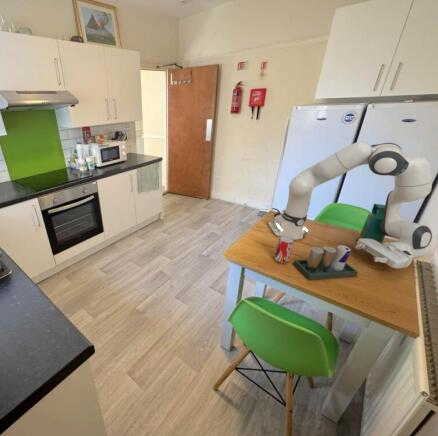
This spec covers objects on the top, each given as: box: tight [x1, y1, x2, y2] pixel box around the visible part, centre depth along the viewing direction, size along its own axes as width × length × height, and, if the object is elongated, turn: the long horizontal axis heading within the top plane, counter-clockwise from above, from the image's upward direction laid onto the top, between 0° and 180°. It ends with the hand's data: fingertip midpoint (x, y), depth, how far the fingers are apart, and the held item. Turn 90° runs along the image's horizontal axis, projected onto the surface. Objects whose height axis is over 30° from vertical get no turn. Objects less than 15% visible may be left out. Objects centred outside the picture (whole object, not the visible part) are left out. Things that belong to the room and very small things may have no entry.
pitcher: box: [357, 203, 386, 244], centre depth 131 cm, size 10×8×22 cm
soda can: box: [273, 236, 295, 264], centre depth 122 cm, size 7×7×13 cm
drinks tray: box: [293, 258, 359, 281], centre depth 117 cm, size 12×24×2 cm, turn 94°
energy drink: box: [330, 244, 352, 271], centre depth 115 cm, size 5×5×12 cm
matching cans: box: [305, 245, 336, 273], centre depth 114 cm, size 5×11×12 cm, turn 94°
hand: (365, 253), depth 114 cm, fingers open, 8 cm apart
